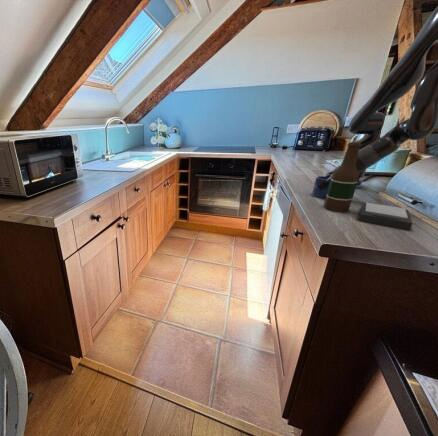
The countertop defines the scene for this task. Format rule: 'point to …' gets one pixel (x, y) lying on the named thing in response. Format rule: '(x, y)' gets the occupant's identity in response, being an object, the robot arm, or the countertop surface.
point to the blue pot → (316, 190)
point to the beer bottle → (343, 181)
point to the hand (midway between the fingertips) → (318, 185)
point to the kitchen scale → (385, 215)
